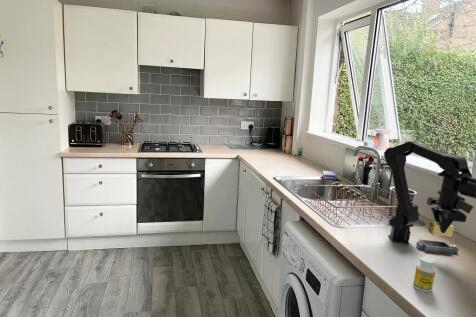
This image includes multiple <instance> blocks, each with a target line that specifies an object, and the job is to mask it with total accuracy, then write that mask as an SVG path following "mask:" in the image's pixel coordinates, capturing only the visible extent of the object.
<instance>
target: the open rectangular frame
mask: <svg viewBox="0 0 476 317" xmlns="http://www.w3.org/2000/svg"><path fill="white" fill-rule="evenodd" d="M457 246H458V245H455V244H448V243H447V242H446V241H438V240H432V239H431V240H430V239H429V240H428V239H421V238H420V239H418V241H416V244H415V247H416V248H417V249H418V250H421V251H422V250H423V252H425V253H433V254H442V255H449V256H450V255H451V256H452V255H453V254H456V255H458V252H459V248H458V247H457Z"/></svg>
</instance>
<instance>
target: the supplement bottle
mask: <svg viewBox="0 0 476 317" xmlns="http://www.w3.org/2000/svg"><path fill="white" fill-rule="evenodd" d="M435 263H436V262H435V259H433V258H431V257H429V256H428V257H427V256H421V257H420V259H419V262H418V263H417V264H416V267H415V272H414V276H413V277H414V278H413V281H412V282H413V283H412V286H413V287H414V288H415V289H416V290H418V291H419V292H423V293H429V292H432V290H433V285H434V282H435V277H436V276H435V275H436V267H435Z"/></svg>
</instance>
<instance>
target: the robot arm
mask: <svg viewBox="0 0 476 317" xmlns="http://www.w3.org/2000/svg"><path fill="white" fill-rule="evenodd" d="M412 154H415V155H417V156H420V157H422V158H424V159H427V160H429V161H430V162H433V163H435V164H436V165H437V166H438V167H439V168H440V169H442V171H440V172H438V173H437V176H439V177H442V181H441V186H440V190H437V194H438V197H431V196H430V197H428V198H427V200H426V204H427V205H428V206H430V210H431V212H432V216H433V221H438V222H440V227H441V232H442V233H445V232H446V230H447V229H448V227H449V226H450V225H452V223H453V222H460V223H466V222H467V215H466V214H468V215H470V213H471V212H472V210H473V209H474V206H473V205H472V204H470V203H469V202H467V201H466V199H465V197H463V196H466V197H468V198H473V199H476V178H475V177H473V175H472V173H471V170H470V169H469V166H468V164H469V163H468V161H467V159H466V158H465V157H463V156H458V155H456V154H455V155H454V154H448V153H444V152H442V151H438V150H436V149H434V148H431V147H429V146H427V145H424V144H422V143H419V142H418V141H415V140H408V141H406V142H404V143H401V144H398V145H396V146H393V147H387V148H386V149H385V151H384V152H383V156H384V160H385V163H386V164H387V166H388V167H389V169H390V170H391V174H392V179H393V185H394V192H395V196H396V202H397V206H396V207H395V208H396V209H395V216H393V217H392V218H390V219H388V221H389V226H391V228H390V233H389V235H388V237H389V239H390V240H391V241H392V242H393V243H397V244H398V243H399V244H407V245H408V244H410V242H409V241H410V237H411V233H412V232H411V228H412V227H413V226H414V225H416V224H417V222H418V221H419V219H420V216H421V215H420V213H419V208H418V205H413V202H412V201H411V196H410V191H409V187H408V181H407V176H406V170H405V166H406V164H407V163H406V162H407V157H408V156H411V155H412ZM459 194H460V195H459ZM462 211H463V212H462ZM464 212H465V213H466V214H465V213H464Z"/></svg>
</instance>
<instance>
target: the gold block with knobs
mask: <svg viewBox="0 0 476 317" xmlns="http://www.w3.org/2000/svg"><path fill="white" fill-rule="evenodd" d="M454 229H455V226H454V225H453V224H451V225H450V226H449V227H448V229H447V230H446V232H445V233H442V232H441V227H440V222H438V221H435V220H430V222H429V226H428V232H429V233H430V234H431V235H434V236H440V237H441V236H442V237H451V238H452V237H453V234H454Z"/></svg>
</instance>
